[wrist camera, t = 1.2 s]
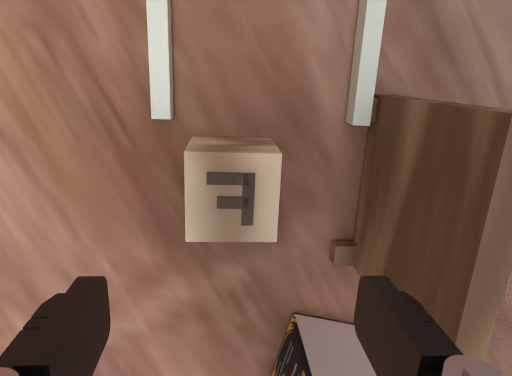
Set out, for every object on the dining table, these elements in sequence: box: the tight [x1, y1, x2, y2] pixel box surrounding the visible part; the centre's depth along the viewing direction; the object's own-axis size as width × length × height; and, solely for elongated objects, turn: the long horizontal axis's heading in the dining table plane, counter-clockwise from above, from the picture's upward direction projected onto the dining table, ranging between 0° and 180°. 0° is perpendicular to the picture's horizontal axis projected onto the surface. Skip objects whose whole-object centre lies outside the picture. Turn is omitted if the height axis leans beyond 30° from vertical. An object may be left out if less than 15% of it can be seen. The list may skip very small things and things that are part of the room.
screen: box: [330, 94, 512, 362], centre depth 21 cm, size 5×13×13 cm, turn 178°
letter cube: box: [184, 136, 282, 242], centre depth 24 cm, size 6×6×6 cm
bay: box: [146, 0, 387, 126], centre depth 23 cm, size 14×12×2 cm
